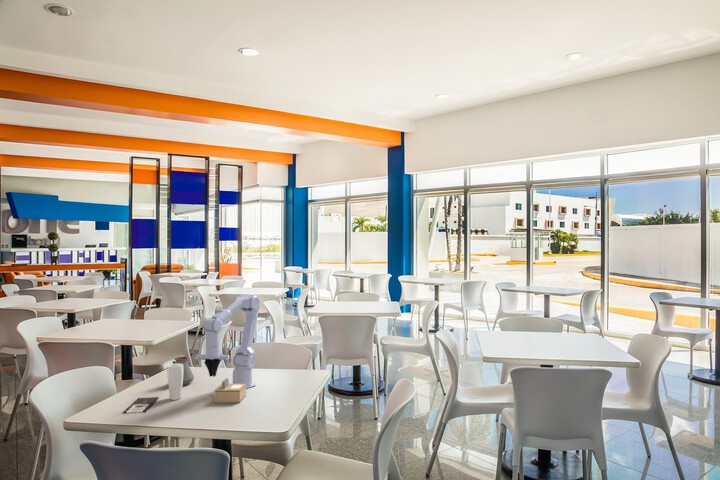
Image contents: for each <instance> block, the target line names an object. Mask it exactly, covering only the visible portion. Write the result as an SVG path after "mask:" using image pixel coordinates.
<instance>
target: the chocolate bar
mask: <svg viewBox="0 0 720 480" xmlns="http://www.w3.org/2000/svg"><path fill="white" fill-rule="evenodd" d="M159 399H160V397H159V396H154V397H151V396H150V397H138V398H137V399H135V400H134V401H133V402H132V403H131V404H130V405H129V406H128V407H127V408H126V409H124V411H122V414H123V413H125V414H138V413H139V412H144V413H147V412H148V411H147V410H149V409H150V408H151V407H152V406H153V405H154V404H155V403H156V402H157V401H158V400H159ZM146 411H147V412H146ZM139 414H140V413H139Z"/></svg>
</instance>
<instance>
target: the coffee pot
mask: <svg viewBox="0 0 720 480" xmlns="http://www.w3.org/2000/svg"><path fill="white" fill-rule="evenodd" d="M188 360H189V357H188V356H177V357H174V360H173V361H172V362H170V363H169V365H170V364H175V363H181V364H183V368H184V374H183V387H185V386H188V385H190V384H191V383H192V382H193V381H194V378H195V377H194V376H195V375H194V373H193V371H192V369H191V367H190V365H189V363H188Z"/></svg>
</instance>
